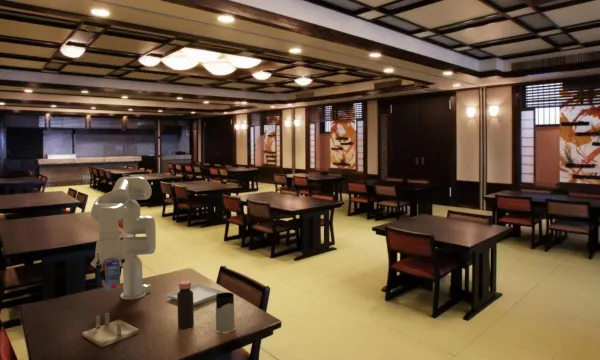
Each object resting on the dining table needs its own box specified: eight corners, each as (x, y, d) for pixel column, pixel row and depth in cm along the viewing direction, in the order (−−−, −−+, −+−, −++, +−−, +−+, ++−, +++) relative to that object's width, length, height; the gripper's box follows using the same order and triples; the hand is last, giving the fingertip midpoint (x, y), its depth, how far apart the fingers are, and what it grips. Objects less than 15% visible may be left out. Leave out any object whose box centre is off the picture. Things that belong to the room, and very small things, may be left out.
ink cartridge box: (100, 284, 174) (100, 251, 174) (114, 282, 178) (114, 250, 177) (106, 291, 167) (106, 256, 166) (120, 288, 170) (120, 254, 169)
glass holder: (219, 335, 171) (218, 300, 170) (208, 322, 183) (207, 290, 182) (238, 330, 176) (238, 296, 174) (226, 318, 188) (225, 286, 186)
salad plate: (197, 288, 228) (197, 283, 227) (224, 297, 215) (224, 290, 215) (165, 300, 210) (165, 294, 210) (192, 310, 198) (192, 303, 198)
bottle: (177, 324, 181) (176, 280, 179) (192, 322, 184) (191, 279, 182) (178, 331, 175) (177, 285, 173) (195, 328, 178) (194, 283, 176)
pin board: (119, 322, 183) (118, 308, 182) (138, 332, 173) (138, 317, 173) (82, 335, 170) (82, 320, 170) (101, 347, 161) (100, 331, 160)
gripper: (123, 231, 180) (125, 271, 181) (83, 238, 166) (85, 281, 167) (133, 233, 175) (134, 274, 177) (92, 240, 162) (94, 284, 163)
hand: (110, 277), depth 172 cm, fingers closed on ink cartridge box, 6 cm apart
